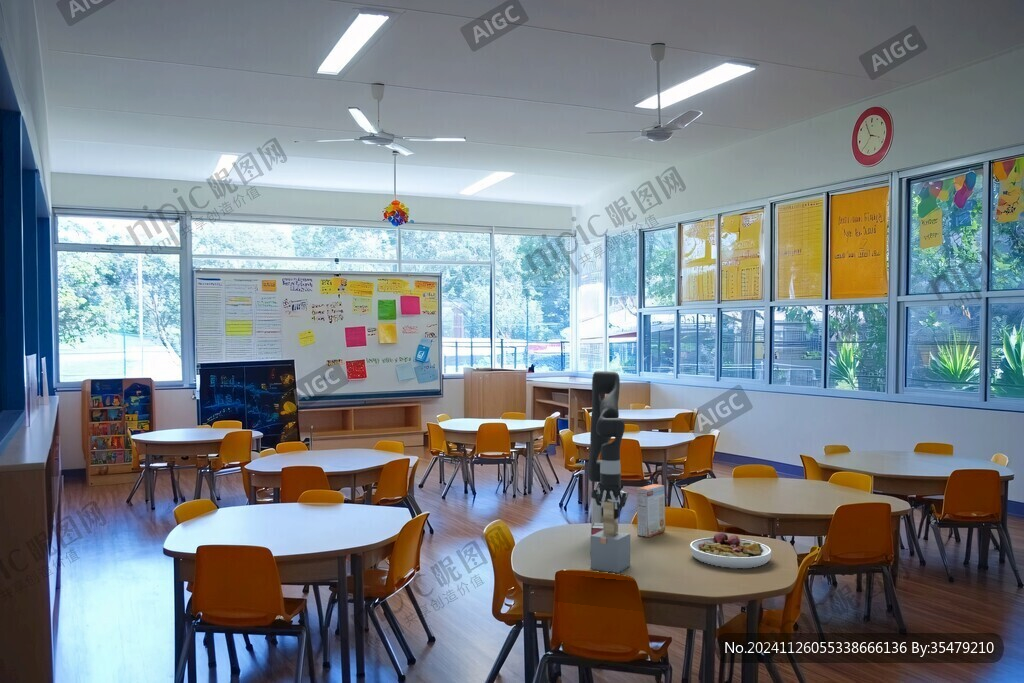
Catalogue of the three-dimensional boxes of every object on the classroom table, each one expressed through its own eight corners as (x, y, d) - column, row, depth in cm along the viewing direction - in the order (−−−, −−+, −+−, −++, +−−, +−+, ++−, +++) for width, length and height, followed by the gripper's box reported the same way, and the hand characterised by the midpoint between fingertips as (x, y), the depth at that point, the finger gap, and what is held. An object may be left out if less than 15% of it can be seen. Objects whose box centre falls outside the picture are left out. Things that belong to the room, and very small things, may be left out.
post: (607, 564, 281) (607, 499, 281) (618, 565, 278) (618, 501, 279) (602, 566, 277) (602, 501, 278) (613, 568, 275) (613, 503, 275)
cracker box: (654, 530, 336) (653, 483, 336) (665, 532, 332) (665, 485, 332) (636, 535, 326) (636, 487, 326) (648, 538, 322) (647, 489, 322)
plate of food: (784, 570, 275) (784, 549, 275) (703, 571, 273) (703, 550, 273) (753, 549, 305) (753, 529, 305) (681, 550, 303) (681, 530, 303)
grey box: (603, 561, 285) (603, 529, 286) (630, 565, 279) (630, 533, 280) (589, 568, 276) (589, 536, 276) (616, 573, 270) (616, 540, 270)
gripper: (632, 472, 278) (632, 518, 277) (597, 468, 285) (597, 513, 285) (623, 474, 271) (623, 522, 271) (588, 471, 279) (588, 517, 279)
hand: (610, 517), depth 278 cm, fingers closed on post, 4 cm apart
